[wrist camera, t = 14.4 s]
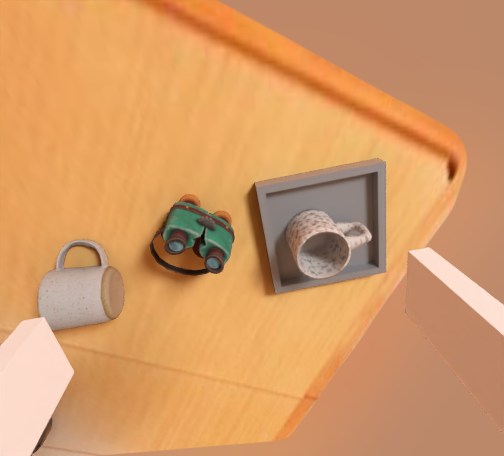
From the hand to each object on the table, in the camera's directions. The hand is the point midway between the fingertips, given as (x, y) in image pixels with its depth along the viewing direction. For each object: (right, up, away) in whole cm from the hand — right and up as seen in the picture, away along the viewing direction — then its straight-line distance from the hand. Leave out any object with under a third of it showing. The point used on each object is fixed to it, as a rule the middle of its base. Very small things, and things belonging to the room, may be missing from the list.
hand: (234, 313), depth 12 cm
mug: (+10, +3, +32) cm, 33 cm away
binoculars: (-7, +3, +31) cm, 32 cm away
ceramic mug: (-22, -3, +32) cm, 39 cm away
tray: (+10, +3, +32) cm, 34 cm away
